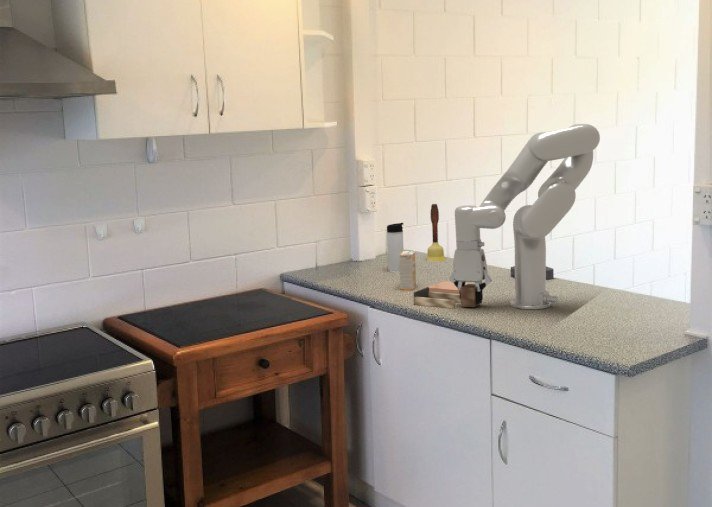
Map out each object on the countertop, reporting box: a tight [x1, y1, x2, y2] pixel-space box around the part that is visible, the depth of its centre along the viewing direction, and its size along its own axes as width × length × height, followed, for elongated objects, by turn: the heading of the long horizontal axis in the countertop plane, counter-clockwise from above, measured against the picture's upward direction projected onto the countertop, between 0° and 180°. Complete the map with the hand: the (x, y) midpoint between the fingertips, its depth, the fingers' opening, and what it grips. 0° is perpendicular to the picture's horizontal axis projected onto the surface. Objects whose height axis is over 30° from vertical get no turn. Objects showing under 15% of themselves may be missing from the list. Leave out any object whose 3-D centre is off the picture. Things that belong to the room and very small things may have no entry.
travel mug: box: [386, 222, 405, 273], centre depth 312 cm, size 6×7×20 cm
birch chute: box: [413, 286, 461, 309], centre depth 258 cm, size 15×9×4 cm, turn 56°
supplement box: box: [399, 250, 417, 291], centre depth 283 cm, size 8×5×13 cm, turn 168°
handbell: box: [425, 203, 447, 262], centre depth 330 cm, size 12×12×25 cm
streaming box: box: [510, 265, 555, 281], centre depth 291 cm, size 13×13×4 cm
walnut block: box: [460, 283, 483, 308], centre depth 253 cm, size 4×6×6 cm
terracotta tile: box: [428, 280, 472, 294], centre depth 277 cm, size 12×12×2 cm
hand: (471, 301), depth 253 cm, fingers closed on walnut block, 4 cm apart
